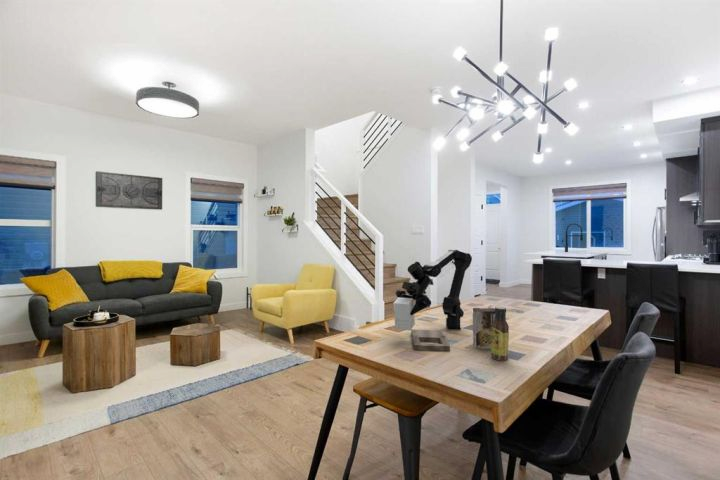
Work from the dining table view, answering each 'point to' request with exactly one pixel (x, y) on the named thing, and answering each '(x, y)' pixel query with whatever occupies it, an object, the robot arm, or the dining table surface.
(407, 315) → the supplement box
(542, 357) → the dining table surface
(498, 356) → the sauce bottle
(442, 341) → the cutout board
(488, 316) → the coffee box
